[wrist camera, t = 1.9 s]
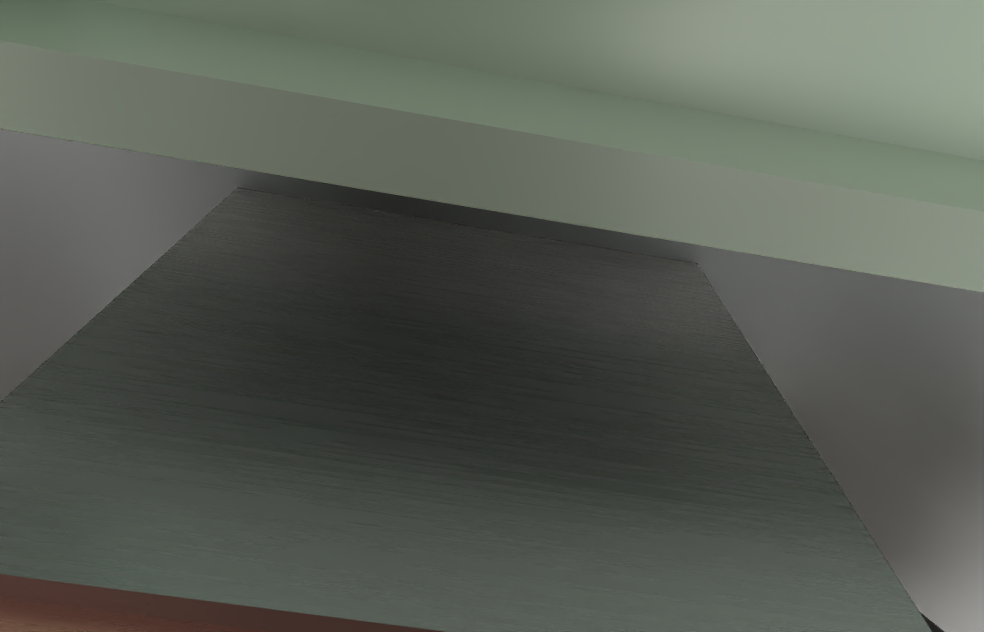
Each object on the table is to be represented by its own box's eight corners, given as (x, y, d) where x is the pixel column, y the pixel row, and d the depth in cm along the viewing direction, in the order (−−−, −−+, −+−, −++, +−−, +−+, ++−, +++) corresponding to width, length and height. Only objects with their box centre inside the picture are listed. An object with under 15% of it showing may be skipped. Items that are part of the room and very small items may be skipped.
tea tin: (229, 545, 11) (-41, 1143, 6) (238, 187, 9) (-212, 595, 3) (593, 594, 12) (685, 1203, 6) (696, 261, 9) (1006, 747, 4)
